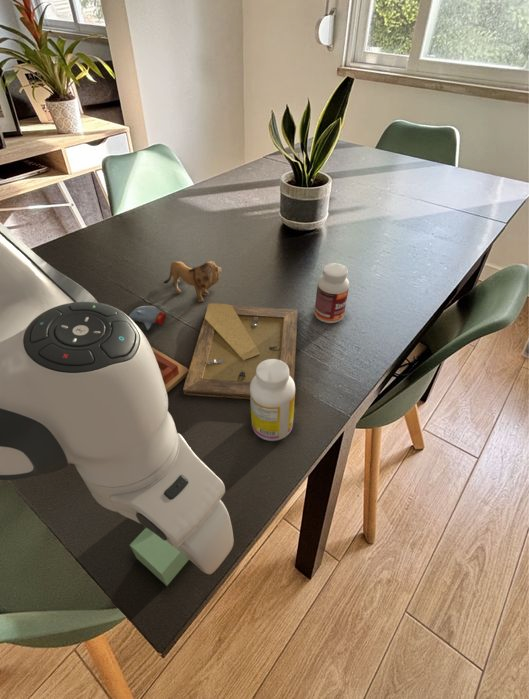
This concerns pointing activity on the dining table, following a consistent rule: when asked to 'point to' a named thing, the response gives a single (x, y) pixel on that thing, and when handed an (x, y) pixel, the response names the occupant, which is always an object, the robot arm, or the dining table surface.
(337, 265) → the pill bottle
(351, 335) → the dining table surface
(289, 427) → the supplement bottle
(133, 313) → the figurine
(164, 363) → the wooden framed tray
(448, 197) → the dining table surface
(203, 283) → the lion figurine
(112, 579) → the dining table surface
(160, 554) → the green block
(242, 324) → the picture frame
